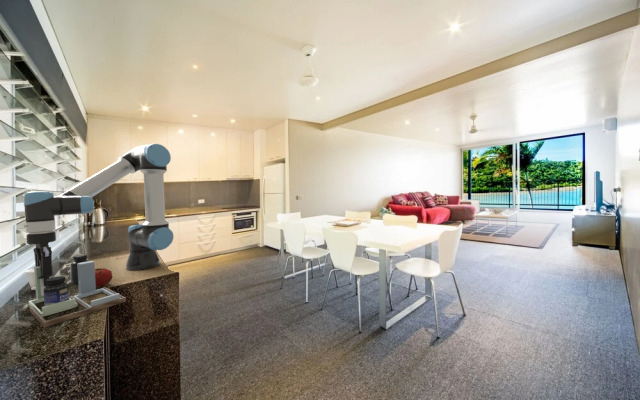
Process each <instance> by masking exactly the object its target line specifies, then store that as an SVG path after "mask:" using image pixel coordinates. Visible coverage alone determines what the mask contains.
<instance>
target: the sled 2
mask: <svg viewBox="0 0 640 400" xmlns="http://www.w3.org/2000/svg"><path fill="white" fill-rule="evenodd" d="M77 268H78V283H77V284H78V294H76V295H72V296H73V297H74V298H76V299H77V300H78V301H80V302H81V303H83V304H84V305H86V306H87V307H89V308H91V307H94V306H97V305H100V304H104V303H107V302H110V301H114V300H117V299H120V295H121V294H120V293H117V292H116V293H117V294H113V293H111V292H109V291H107V290H105V289H103V287H102V288H98V289H97V287H96V282H95V269H96V267H95V261H93V260H89V261H88V262H82V263H77ZM100 293H103V294H105V295H107V296H103V297H100V298H97V299H93V300H90V304H88V303H87V302H85V301H84V300H82V298H85V297H89V296H92V295H96V294H100ZM119 294H120V295H119Z"/></svg>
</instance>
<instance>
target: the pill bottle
mask: <svg viewBox="0 0 640 400" xmlns="http://www.w3.org/2000/svg"><path fill="white" fill-rule="evenodd" d="M65 281H66V276H63V275H59V276H53V278H49V279H47V280H46V284H47V286H46V287H45V288H44V301H43V302H44V306H48V305H51V304H55V303H59V302H62V301H66V300H69V298H70V289H69V283H67V282H65Z"/></svg>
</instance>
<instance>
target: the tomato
mask: <svg viewBox="0 0 640 400" xmlns="http://www.w3.org/2000/svg"><path fill="white" fill-rule="evenodd" d="M112 279H113V273H112V271H111V270H110V269H108V268H105V267H101V268H100V267H99V268H95V282H96V288H100V287H102V288H103V287H105V286H106V285H108V284H109V283H110V282H112Z"/></svg>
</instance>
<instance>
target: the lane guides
mask: <svg viewBox="0 0 640 400" xmlns="http://www.w3.org/2000/svg"><path fill="white" fill-rule="evenodd" d="M102 288H103V289H105V290H107V291H109V292H111V293H113V294H117V292H116V291H114V290H112V289H110V288H108V287H106V286H102ZM119 295H120V299H117V300H114V301H110V302H107V303H104V304H100V305H97V306H94V307H91V308H89V307H87V306H86V305H84V304H83V303H81V302H80V301H78V300H77V299H76V298H75V302H76V303H77V304H78V307H77V308H80V310H78V311H75V312H71V313H68V314H65V315H62V316H61V315H60V316H58V317H55V318H52V319H48V320H46V319H45V317H42V316H41V315H40V314H39V313H38V312H37V311H36V310H35V309H34V308H33V307H32V306H29V312H30V313H31V314H32V315H33V316H34V318H35V319H36V320H37V321H38V322H39V323H40V324H41V326H42V327H43V328H47V327H50V326H53V325H56V324H59V323H63V322H66V321H69V320H72V319H75V318H78V317H82V316H85V315H88V314H91V313H94V312H98V311H100V310H104V309H107V308H110V307H113V306H116V305H119V304H123V303H126V301H127V300H126V296H123V295H122V294H120V293H119ZM73 296H74V295H69V298H71V299H73V298H74V297H73Z"/></svg>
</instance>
